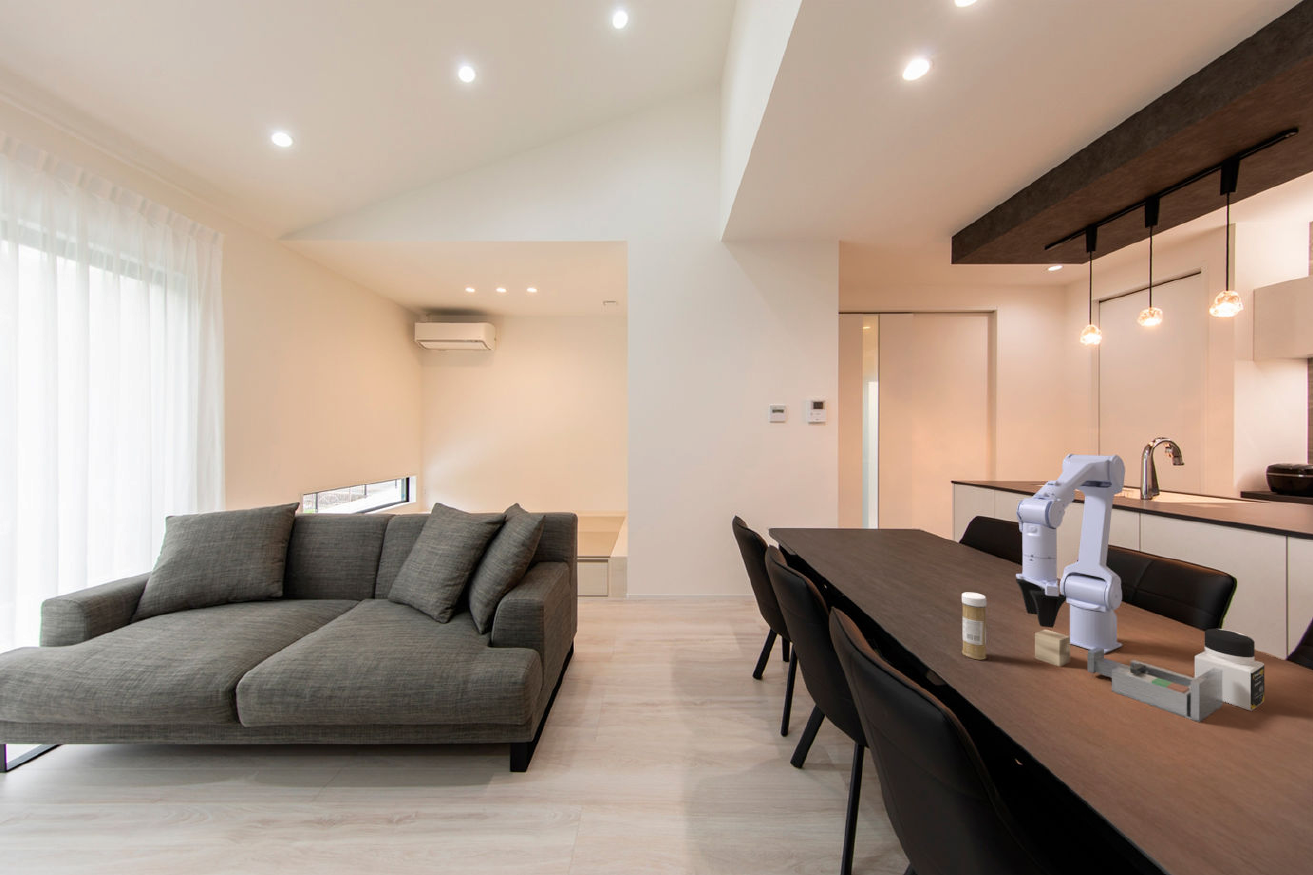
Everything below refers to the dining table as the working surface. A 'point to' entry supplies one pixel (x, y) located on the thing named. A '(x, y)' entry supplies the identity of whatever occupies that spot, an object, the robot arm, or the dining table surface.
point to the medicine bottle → (1233, 667)
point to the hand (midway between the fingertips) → (1039, 619)
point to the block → (1052, 647)
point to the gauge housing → (1171, 690)
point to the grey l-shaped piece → (1108, 664)
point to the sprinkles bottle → (974, 625)
